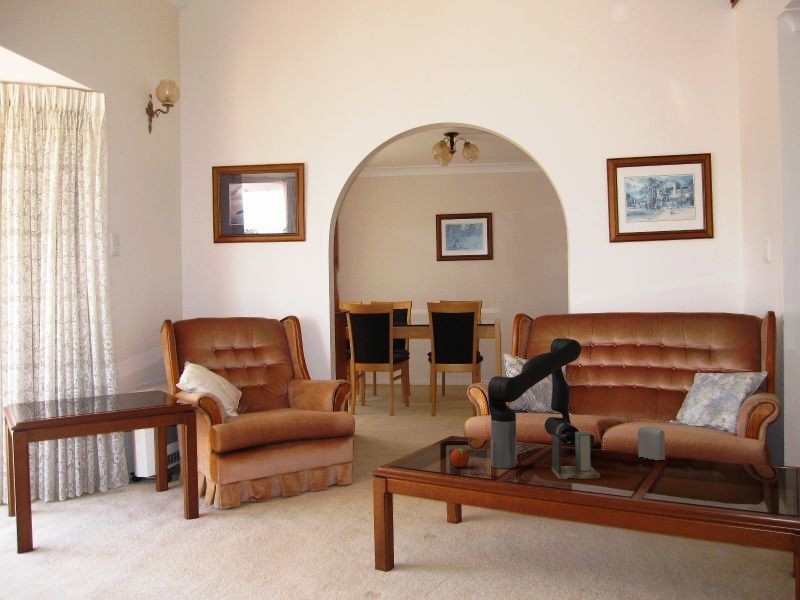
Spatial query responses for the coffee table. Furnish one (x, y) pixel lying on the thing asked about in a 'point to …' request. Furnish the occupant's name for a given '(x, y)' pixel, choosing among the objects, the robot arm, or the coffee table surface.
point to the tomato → (459, 457)
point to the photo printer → (651, 443)
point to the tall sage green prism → (583, 451)
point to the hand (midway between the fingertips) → (578, 442)
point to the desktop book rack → (567, 471)
